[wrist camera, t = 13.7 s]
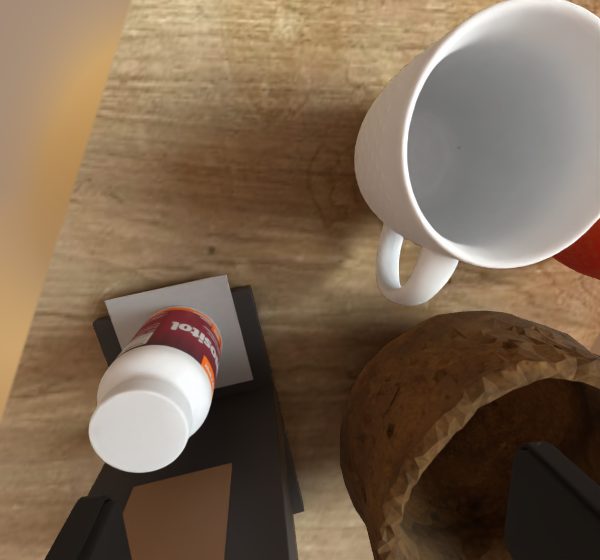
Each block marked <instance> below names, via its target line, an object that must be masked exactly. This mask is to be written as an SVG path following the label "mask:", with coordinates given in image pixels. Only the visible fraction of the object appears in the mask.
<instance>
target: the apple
mask: <svg viewBox="0 0 600 560" xmlns="http://www.w3.org/2000/svg"><path fill="white" fill-rule="evenodd" d="M552 257H553V258H554V259H556V260H557V261H559V262H561V263H562V264H564V265H566V266H568V267H569V268H571V269H573V270H575V271H577V272H579V273H581V274H584V275H587V276H590V277H593V278H596V279H599V280H600V218H599V219H598V220H597V221H596V222H595V223H594V224H593V225H592V226H591V227H590V228H589V230H588V231H587V232H586V233H584V234H583V235H582V236H581V237H580V238H579V239H578V240H576V241H575V242H574V243H573V244H571V245H570V246H568V247H567V248H565V249H563V250H562V251H560V252H559V253H557V254H555V255H553V256H552Z"/></svg>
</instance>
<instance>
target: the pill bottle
mask: <svg viewBox="0 0 600 560" xmlns="http://www.w3.org/2000/svg"><path fill="white" fill-rule="evenodd" d="M221 354H222V337H221V334H220V331H219V329H218V327H217V325H216V324H215V323H214V321H213V320H212V319H211V318H210V317H209V316H207V315H206V314H205V313H203V312H201V311H199V310H197V309H194V308H191V307H185V306H174V307H169V308H166V309H163V310H161V311H159V312H157V313H155V314H154V315H153V316H151V317H150V318H149V319H148V320H147V321H146V322H145V323H144V325H143V326H142V327H141V328H140V330H139V331H138V332H137V333H136V334H135V336H134V337H133V338H132V339H131V341H130V342H129V343H128V344H127V346H126V347H125V348H124V349H123V351H122V352H121V353H120V354H119V355H118V357H117V358H116V359H115V360H114V361H113V363H112V364H111V365H110V367H109V368H108V369H107V371H106V372H105V374H104V375H103V377H102V379H101V382H100V384H99V388H98V393H97V405H98V406H97V408H96V409H95V411H94V413H93V414H92V417H91V419H90V423H89V432H88V434H89V439H90V443H91V445H92V447H93V449H94V451H95V452H96V454H97V455H98V456H99V457H100V458H101V459H102V460H103V461H104V462H106V463H107V464H109V465H110V466H112V467H114V468H117V469H119V470H123V471H126V472H134V473H143V472H151V471H155V470H158V469H161V468H163V467H165V466H167V465H168V464H170V463H172V462H173V461H174V460H175V459H176V458H177V457H178V456H179V455H180V454H181V452H182V451H183V449H184V448H185V446H186V443H187V440H188V438H189V437H190V436H192V435H193V434H194V433H195V432H196V431H197V430H198V429H199V428H200V426H201V425H202V424H203V422H204V420H205V419H206V417H207V414H208V412H209V409H210V406H211V402H212V397H213V392H214V387H215V382H216V377H217V372H218V368H219V363H220V358H221Z"/></svg>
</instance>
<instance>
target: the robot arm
mask: <svg viewBox="0 0 600 560" xmlns="http://www.w3.org/2000/svg"><path fill="white" fill-rule="evenodd" d="M504 542H505V545H506V548H507V550H508V552H509V554H510V556H511V557H512V558H513V560H600V486H598V485H597V484H596V483H595V482H594V481H593V480H592V479H590V478H589V477H588V476H587V475H586V474H585V473H584V472H583V471H581V470H580V469H579V468H578V467H577V466H576V465H575V464H574V463H572V462H571V461H570V460H569V459H568V458H567V457H566V456H565V455H563V454H562V453H561V452H560V451H559V450H558V449H557V448H555V447H554V446H553V445H552V444H550V443H549V442H546V441H541V442H533V443H524V444H521V445H520V446H519V450H518V451H516V452H515V454H514V459H513V466H512V474H511V482H510V490H509V497H508V505H507V513H506V520H505V528H504ZM45 560H132V557H131V553H130V548H129V543H128V538H127V533H126V528H125V523H124V518H123V513H122V508H121V504H120V501H119V500H113V499H112V496H111V495H110V494H102V495H94V496H85V497H81V498H80V499H79V500H78V501H77V502H76V504H75V506H74V508H73V509H72V511H71V513H70V515H69V517H68V518H67V520H66V522H65V524H64V526H63V527H62V529H61V531H60V533H59V535H58V536H57V538H56V540H55V542H54V544H53V545H52V547H51V549H50V551H49V553H48V554H47V556H46V558H45Z"/></svg>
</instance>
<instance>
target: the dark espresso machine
mask: <svg viewBox="0 0 600 560" xmlns="http://www.w3.org/2000/svg"><path fill="white" fill-rule="evenodd" d="M105 304H106V307H107V310H108V312H109V315H110V316H107V317H103V318H98V319H97V320H95V321H94V322H93V326H94V329H95V332H96V334H97V337H98V340H99V342H100V345H101V348H102V350H103V353H104V356H105V358H106V361H107V364H108V366H109V367H110V365H111V364H112V363H113V361H114V360H115V359H116V358H117V357H118V355H119V354H120V353H121V352H122V351H123V349H124V348H125V347H126V346H127V344H128V343H129V342H130V341H131V339H132V338H133V337H134V336H135V334H136V333H137V332H138V331H139V330H140V328H141V327H142V326H143V325H144V323H145V322H146V321H147V320H148V319H149V318H150V317H151V316H153V315H154V314H155V313H157V312H159V311H161V310H163V309H166V308H169V307H174V306H185V307H191V308H194V309H197V310H199V311H201V312H203V313H205V314H206V315H207V316H209V317H210V318H211V319H212V320H213V321H214V323H215V324H216V325H217V327H218V329H219V331H220V334H221V337H222V354H221V358H220V363H219V368H218V372H217V377H216V382H215V387H214V392H213V397H212V402H211V406H210V409H209V412H208V414H207V417H206V419H205V420H204V422H203V424H202V425H201V426H200V428H199V429H198V430H197V431H196V432H195V433H194V434H193V435H192V436H190V437H189V438H188V440H187V443H186V446H185V448H184V449H183V451H182V452H181V454H180V455H179V456H178V457H177V458H176V459H175V460H174V461H173V462H172V463H170V464H168V465H167V466H165V467H163V468H161V469H158V470H155V471H151V472H143V473H134V472H126V471H123V470H119V469H117V468H114V467H112V466H110V465H109V464H107V463H106V462H105V464H104V466H103V468H102V470H101V472H100V473H99V475H98V477H97V479H96V481H95V483H94V485H93V486H92V488H91V490H90V492H89V494H88V496H94V495H102V494H110V495H111V496H112V499H113V500H119V501H120V504H121V508H122V513H123V518H124V523H125V528H126V533H127V538H128V543H129V548H130V553H131V557H132V560H298V552H297V543H296V535H295V526H294V517H293V514H296V513H300V512H303V511H304V506H303V500H302V496H301V492H300V488H299V484H298V480H297V476H296V471H295V467H294V463H293V459H292V455H291V451H290V447H289V442H288V438H287V434H286V430H285V426H284V422H283V418H282V413H281V409H280V405H279V401H278V397H277V393H276V388H275V384H274V380H273V376H272V372H271V368H270V364H269V360H268V355H267V351H266V347H265V343H264V339H263V335H262V331H261V326H260V322H259V318H258V314H257V310H256V306H255V302H254V297H253V293H252V289H251V286H250V285H249V286H244V287H240V288H235V289H231V290H230V287H229V283H228V279H227V275H226V274H224V275H219V276H214V277H210V278H205V279H200V280H196V281H191V282H187V283H182V284H177V285H173V286H168V287H163V288H159V289H154V290H150V291H145V292H140V293H136V294H131V295H126V296H122V297H117V298H113V299H108V300H105Z"/></svg>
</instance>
